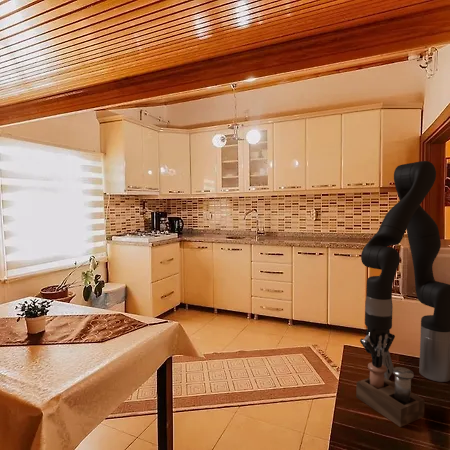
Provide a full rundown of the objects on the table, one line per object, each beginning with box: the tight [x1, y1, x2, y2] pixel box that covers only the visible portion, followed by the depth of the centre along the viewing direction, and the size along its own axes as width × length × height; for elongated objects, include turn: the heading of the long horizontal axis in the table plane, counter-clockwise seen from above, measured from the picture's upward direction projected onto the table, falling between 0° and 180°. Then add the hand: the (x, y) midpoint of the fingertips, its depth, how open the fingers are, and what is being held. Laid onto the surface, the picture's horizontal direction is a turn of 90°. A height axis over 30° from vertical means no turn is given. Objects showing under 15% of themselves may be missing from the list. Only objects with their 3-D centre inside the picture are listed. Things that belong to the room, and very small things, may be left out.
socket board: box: [355, 377, 426, 428], centre depth 96 cm, size 10×15×5 cm, turn 25°
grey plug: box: [392, 366, 415, 402], centre depth 92 cm, size 5×5×8 cm
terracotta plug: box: [367, 361, 387, 389], centre depth 100 cm, size 5×5×8 cm
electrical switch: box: [370, 344, 394, 380], centre depth 115 cm, size 9×5×9 cm, turn 141°
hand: (377, 366), depth 99 cm, fingers closed
